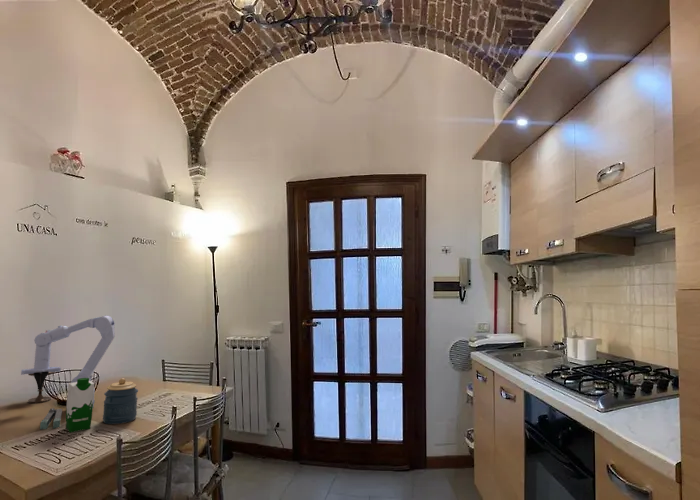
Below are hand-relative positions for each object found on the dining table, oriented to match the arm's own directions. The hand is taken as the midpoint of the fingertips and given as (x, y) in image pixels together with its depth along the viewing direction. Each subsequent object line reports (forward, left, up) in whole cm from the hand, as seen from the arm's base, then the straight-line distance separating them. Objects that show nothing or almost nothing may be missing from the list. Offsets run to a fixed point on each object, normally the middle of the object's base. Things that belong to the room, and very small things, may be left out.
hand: (39, 388), depth 188 cm
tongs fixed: (-7, +21, -10) cm, 24 cm away
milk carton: (-16, +36, -10) cm, 41 cm away
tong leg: (-5, +23, -10) cm, 25 cm away
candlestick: (+1, -20, -10) cm, 22 cm away
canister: (-31, +32, -10) cm, 46 cm away
